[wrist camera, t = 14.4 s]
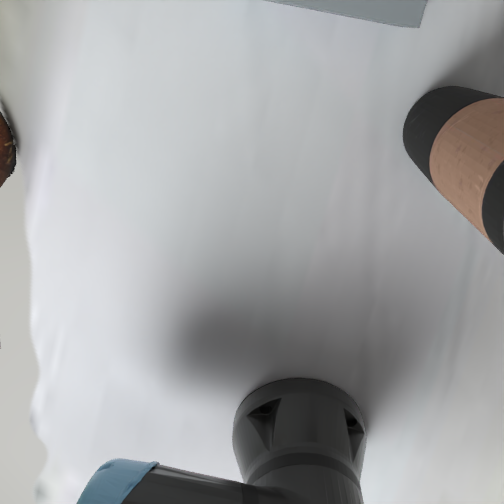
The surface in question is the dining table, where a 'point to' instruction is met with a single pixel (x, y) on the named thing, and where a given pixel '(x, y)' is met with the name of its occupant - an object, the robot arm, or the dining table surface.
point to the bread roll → (6, 151)
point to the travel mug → (462, 153)
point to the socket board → (369, 9)
